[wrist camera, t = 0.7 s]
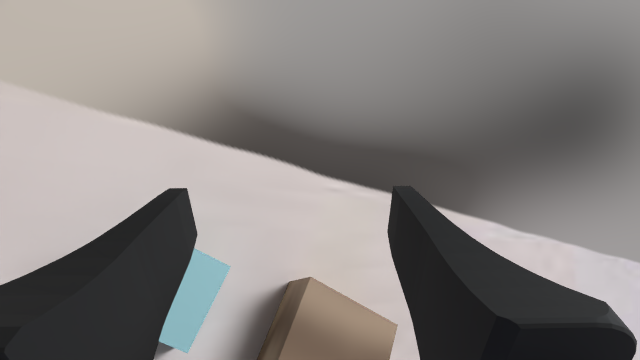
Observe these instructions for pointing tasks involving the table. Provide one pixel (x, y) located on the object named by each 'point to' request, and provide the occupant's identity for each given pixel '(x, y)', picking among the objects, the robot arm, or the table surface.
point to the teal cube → (193, 300)
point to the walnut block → (325, 327)
